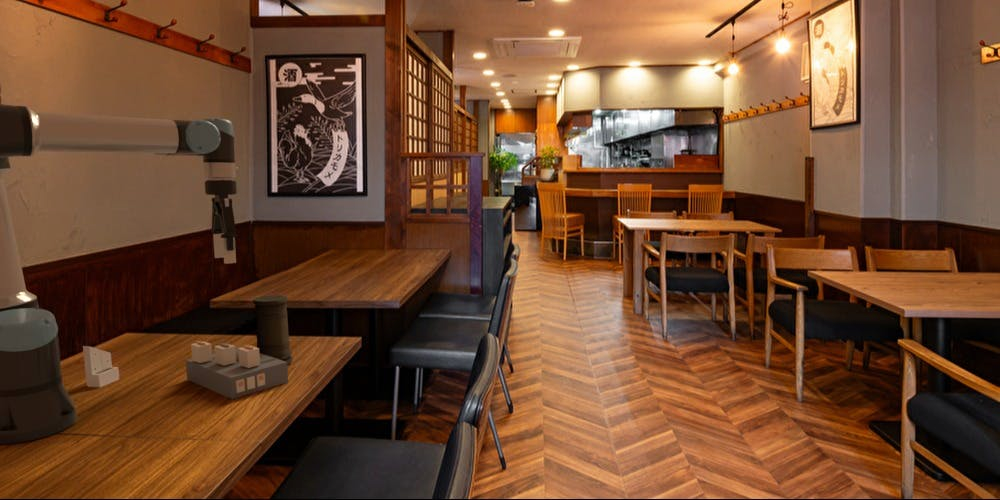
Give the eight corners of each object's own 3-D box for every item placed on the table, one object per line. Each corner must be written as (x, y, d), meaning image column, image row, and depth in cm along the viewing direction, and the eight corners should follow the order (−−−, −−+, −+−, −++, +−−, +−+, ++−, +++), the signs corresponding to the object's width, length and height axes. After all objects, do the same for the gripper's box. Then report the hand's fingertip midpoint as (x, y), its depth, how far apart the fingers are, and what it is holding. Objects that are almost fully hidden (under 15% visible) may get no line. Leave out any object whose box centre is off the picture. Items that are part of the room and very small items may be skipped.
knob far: (200, 363, 144) (198, 344, 144) (192, 360, 147) (190, 342, 146) (212, 360, 147) (211, 342, 146) (204, 357, 149) (203, 339, 149)
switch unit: (233, 399, 135) (231, 378, 134) (187, 379, 149) (185, 359, 148) (289, 382, 146) (288, 362, 145) (241, 365, 160) (240, 346, 159)
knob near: (248, 368, 140) (246, 349, 140) (239, 364, 143) (238, 346, 142) (260, 364, 143) (259, 346, 142) (251, 361, 145) (250, 343, 145)
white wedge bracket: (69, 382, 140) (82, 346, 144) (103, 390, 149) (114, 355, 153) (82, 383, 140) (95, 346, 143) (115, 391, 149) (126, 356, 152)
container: (297, 359, 164) (294, 294, 162) (283, 369, 156) (278, 301, 153) (266, 358, 165) (262, 294, 163) (249, 369, 156) (245, 301, 154)
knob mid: (223, 365, 142) (222, 347, 142) (215, 362, 145) (214, 344, 144) (236, 362, 145) (234, 344, 144) (227, 359, 147) (226, 341, 147)
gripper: (246, 179, 149) (250, 264, 151) (226, 179, 169) (230, 254, 172) (213, 179, 145) (218, 266, 147) (197, 179, 165) (201, 256, 168)
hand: (225, 260), depth 160 cm, fingers open, 13 cm apart
